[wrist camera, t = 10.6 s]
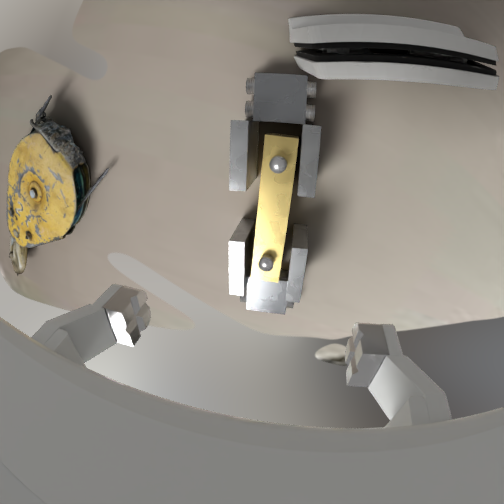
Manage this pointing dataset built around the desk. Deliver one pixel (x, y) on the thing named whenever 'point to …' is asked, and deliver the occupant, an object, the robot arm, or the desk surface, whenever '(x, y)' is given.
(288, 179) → the brass block with peg
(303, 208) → the desk surface
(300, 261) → the chain end
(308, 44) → the grey half-round block
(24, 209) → the pulley block
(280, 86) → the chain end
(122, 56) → the desk surface
